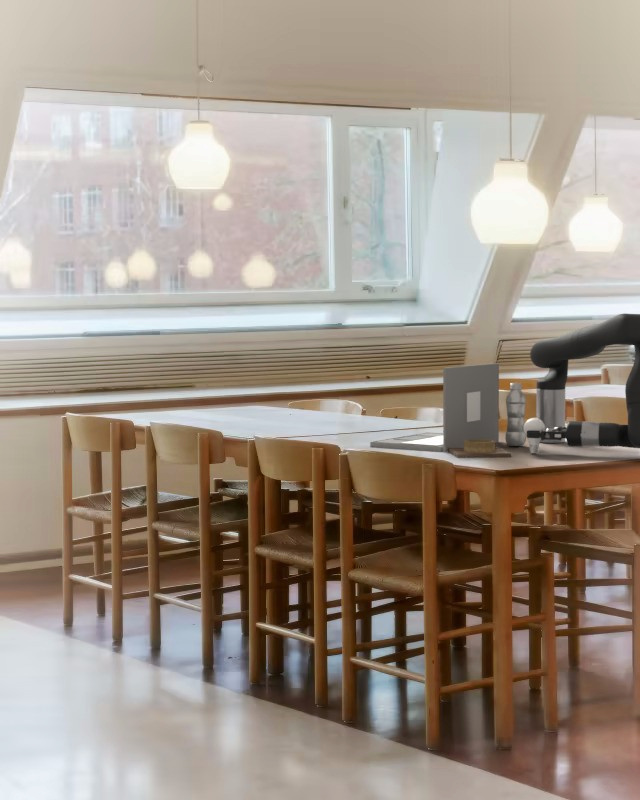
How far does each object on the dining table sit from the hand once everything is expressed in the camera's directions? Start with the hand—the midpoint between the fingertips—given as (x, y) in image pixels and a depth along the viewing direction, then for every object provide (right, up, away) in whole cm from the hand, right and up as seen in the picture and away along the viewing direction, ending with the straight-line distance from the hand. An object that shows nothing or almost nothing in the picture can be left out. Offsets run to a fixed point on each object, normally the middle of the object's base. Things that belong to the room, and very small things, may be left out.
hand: (529, 432), depth 389 cm
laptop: (-25, -5, +30) cm, 40 cm away
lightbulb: (+2, -7, 0) cm, 7 cm away
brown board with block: (-15, -6, +2) cm, 16 cm away
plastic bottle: (-1, -5, +22) cm, 22 cm away
